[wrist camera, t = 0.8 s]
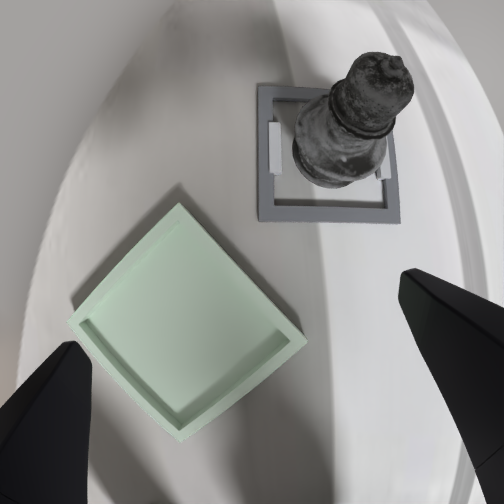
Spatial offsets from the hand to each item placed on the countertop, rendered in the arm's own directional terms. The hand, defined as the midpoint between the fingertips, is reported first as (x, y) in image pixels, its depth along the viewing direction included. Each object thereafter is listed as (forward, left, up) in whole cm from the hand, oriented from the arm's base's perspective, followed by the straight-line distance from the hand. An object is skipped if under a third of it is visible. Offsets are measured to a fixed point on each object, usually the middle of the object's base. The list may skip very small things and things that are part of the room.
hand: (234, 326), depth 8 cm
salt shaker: (+3, -10, -13) cm, 17 cm away
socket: (+3, -10, -13) cm, 17 cm away
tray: (+1, +6, -13) cm, 14 cm away
